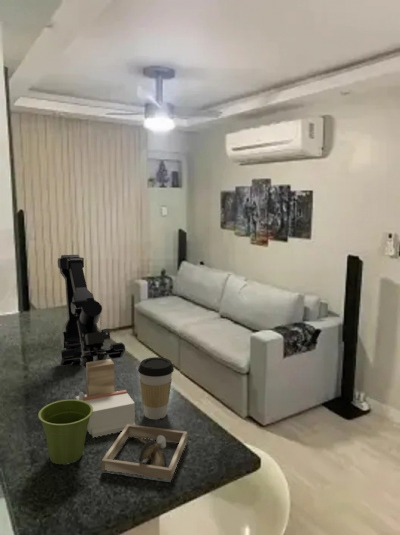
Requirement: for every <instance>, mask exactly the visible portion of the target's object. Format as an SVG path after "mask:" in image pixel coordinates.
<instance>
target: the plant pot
mask: <svg viewBox="0 0 400 535" xmlns="http://www.w3.org/2000/svg"><path fill="white" fill-rule="evenodd" d="M92 413H93V407H92V406H91V405H90V404H89V403H87V402H85V401H81V400H76V399H61V400H57V401H53V402H51V403H49V404H46V405H44V406H43V407H42V408H41V409H40V410H39V411H38V414H37V416H38V419H39V420H40V422H41V425H42V428H43V431H44V436H45V439H46V445H47V451H48V455H49V459H50V462H51V461H52V462H51V463H53V464H54V463H56V464H55V465H61V464H67V463H71V462H73V461H76V460H78V459H79V458H80V459H81V457H83V454H84V453H83V452H84V448H85V442H86V435H87V432H88V430H87V425H88V423H89V419H90V416H91V414H92ZM80 459H79V460H80ZM79 460H78V461H79ZM76 462H77V461H76Z"/></svg>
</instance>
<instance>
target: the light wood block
mask: <svg viewBox="0 0 400 535" xmlns="http://www.w3.org/2000/svg"><path fill="white" fill-rule="evenodd" d="M85 371H86V372H85V374H86V376H85V378H86V394H87V397H89V396H94V395H100V394H105V393H111V392H114V391H115V363H114V361H113V359H111V358H108V359H107V358H106V360H100V361H95V360H93V362H86V368H85Z"/></svg>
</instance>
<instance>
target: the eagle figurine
mask: <svg viewBox="0 0 400 535" xmlns="http://www.w3.org/2000/svg"><path fill="white" fill-rule="evenodd" d="M137 439H138V440H139V441H140V442H141V443H142V444H144V445H143V447H142V449H141V450H140V452H139V457H138V459H137V460H138V462H139V463H140V464H141V462H142V463H143V462H146V463H148V461H149V460H150V465H153V466H160V467H167V457H166V456H167V455H166V454H165V452H163V451H162V449H165V448H166V446H167V442H166V439H165V437H164V436H162V435H159V436H158V437H157V440H156V437H155V438H154V439H153V440H149V439H148V437H147V438H146V439H141V437H139V436H138V438H137ZM155 440H156V441H155Z"/></svg>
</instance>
